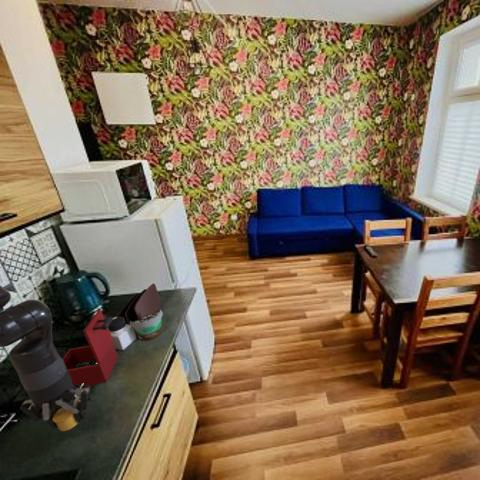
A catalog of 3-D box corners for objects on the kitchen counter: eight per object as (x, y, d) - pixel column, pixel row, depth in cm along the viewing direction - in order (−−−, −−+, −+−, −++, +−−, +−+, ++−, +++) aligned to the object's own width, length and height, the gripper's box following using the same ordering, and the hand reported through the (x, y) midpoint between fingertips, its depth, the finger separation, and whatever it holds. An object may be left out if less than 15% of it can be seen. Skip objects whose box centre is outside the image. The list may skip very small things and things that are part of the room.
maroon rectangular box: (59, 392, 91) (50, 374, 88) (76, 365, 101) (69, 349, 98) (106, 381, 95) (99, 364, 92) (118, 357, 105) (112, 341, 102)
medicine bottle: (137, 338, 115) (130, 315, 110) (123, 350, 108) (114, 327, 104) (123, 335, 116) (115, 313, 111) (108, 348, 109) (99, 324, 105)
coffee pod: (53, 434, 69) (48, 424, 67) (64, 416, 73) (58, 406, 71) (76, 428, 70) (71, 418, 69) (85, 411, 74) (80, 402, 73)
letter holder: (161, 304, 137) (155, 280, 131) (143, 331, 119) (135, 305, 113) (140, 305, 135) (133, 282, 130) (119, 333, 117) (109, 307, 112)
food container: (139, 347, 110) (133, 328, 106) (134, 339, 114) (128, 321, 110) (170, 332, 118) (166, 313, 115) (165, 325, 122) (160, 307, 118)
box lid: (82, 331, 86) (100, 328, 87) (98, 309, 96) (114, 307, 97) (97, 364, 92) (114, 360, 93) (110, 340, 102) (125, 337, 103)
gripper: (88, 357, 70) (106, 402, 77) (18, 370, 66) (44, 416, 73) (73, 381, 64) (95, 427, 70) (-5, 397, 59) (26, 445, 66)
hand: (69, 421), depth 71 cm, fingers closed on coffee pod, 4 cm apart
